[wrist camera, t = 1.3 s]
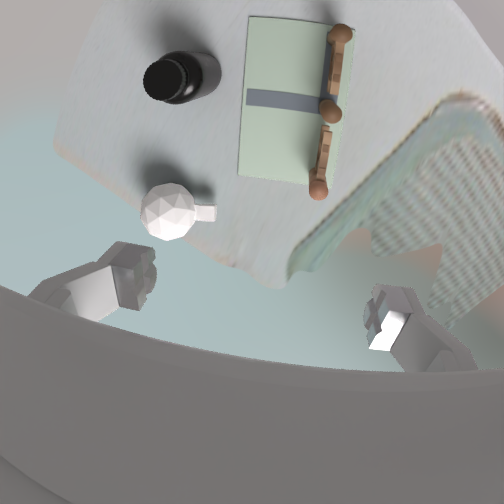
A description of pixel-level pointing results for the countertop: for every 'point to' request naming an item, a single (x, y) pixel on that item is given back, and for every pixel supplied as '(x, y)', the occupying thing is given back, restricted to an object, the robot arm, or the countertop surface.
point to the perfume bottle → (173, 211)
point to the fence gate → (320, 166)
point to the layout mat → (288, 99)
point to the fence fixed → (335, 71)
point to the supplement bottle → (182, 77)
